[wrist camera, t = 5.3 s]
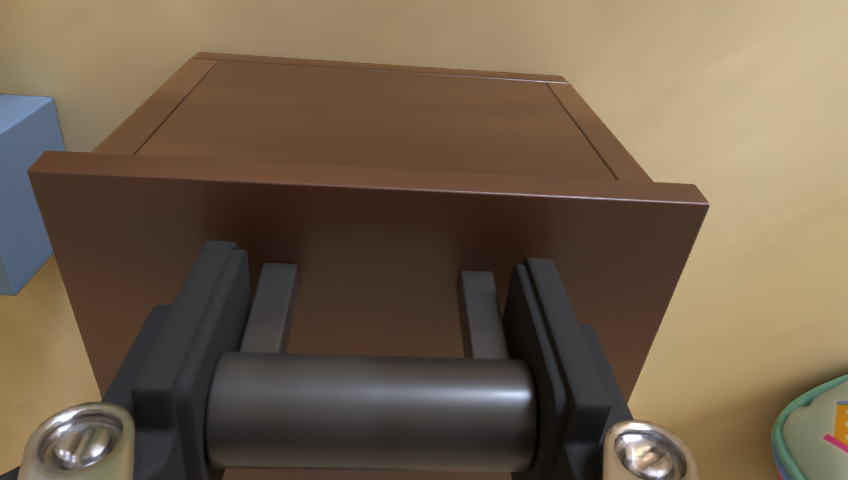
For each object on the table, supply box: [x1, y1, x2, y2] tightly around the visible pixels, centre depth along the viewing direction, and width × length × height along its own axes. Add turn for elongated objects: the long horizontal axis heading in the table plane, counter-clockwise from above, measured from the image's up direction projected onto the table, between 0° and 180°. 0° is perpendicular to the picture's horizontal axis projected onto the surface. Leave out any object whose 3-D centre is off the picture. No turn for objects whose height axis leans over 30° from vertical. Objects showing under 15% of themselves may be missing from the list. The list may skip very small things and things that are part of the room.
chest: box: [91, 52, 653, 182], centre depth 22 cm, size 17×13×9 cm
